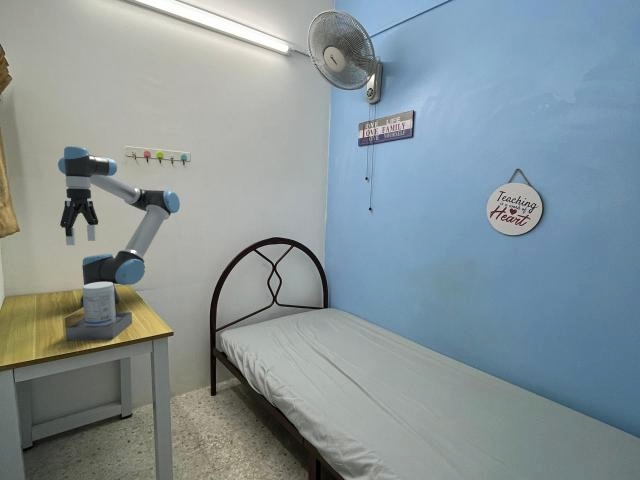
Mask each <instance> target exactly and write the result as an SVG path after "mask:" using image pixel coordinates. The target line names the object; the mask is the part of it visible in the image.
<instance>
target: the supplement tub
mask: <svg viewBox="0 0 640 480" xmlns="http://www.w3.org/2000/svg"><path fill="white" fill-rule="evenodd" d="M114 286H115V285H114ZM114 286H113V283H112V282H95V283H90V284H87V285H84V284H83V286H82V294H83V304H84V317H85V325H86V326H88V327H89V326H106V325H109V324H111V323H113V322H114V321H115V320H116V313H117V312H116V304H115V296H114Z"/></svg>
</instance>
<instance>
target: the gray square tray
mask: <svg viewBox="0 0 640 480" xmlns="http://www.w3.org/2000/svg"><path fill="white" fill-rule="evenodd" d="M115 313H116V320H115V321H114V322H113V323H111V324H109V325H106V326H89V327H88V326H86V325H85V317H84V307H83V308H82V307H80V308H79V309H77V310H75V311H74V312H72V313H70V314H68V315H66V316H64V317H63V318H62V331H63V332H62V334H63V341H65V342H67V341H92V340H93V341H97V340H98V341H99V340H114V339H115V338H116V337H118V336H119V335H120V334H122V332H124V331H125V330H127V328H128V327H129V326H131V325H132V324H133V313H132V312H131V311H130V312H129V311H128V312H115Z"/></svg>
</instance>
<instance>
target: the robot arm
mask: <svg viewBox="0 0 640 480" xmlns="http://www.w3.org/2000/svg"><path fill="white" fill-rule="evenodd" d="M57 167H58V171H60V172H61V173H62V174H64V175H65V180H64V181H65V186H66V187H67V188H66V198H67V199H70V200H65V201H64V208H63V211H62V214H61V220H60V225H59V226H60V227H61V229H62V228H64V229H65V232H64V233H65V243H66V246H76V232H75V231H76V229H75V227H74V225H75V222H76V220H77V218H78V216H79V215H80V214H82V216H83V218H84V219H85V221H86V223H87V225H86V229H87V230H86V232H87V241H89V242H90V241H91V242H96V241H97V235H96V226H98V225H99V219H98V216H97V213H96V211H95V207H94V203H93V200H91V199H92V191H91V186H92V185H93V186H95V187H97V188H99V189H101V190H104V191H106V192H107V193H110V194H111V195H114V196H115V197H118V198H120V199H122V200H123V201H124V203H126V204H127V205H130V206H131V207H134V208H136V209H139V210H141V211H142V212H143V211H144V212H146V213H145V215H144V217H143V218H142V219H141V221H140V223H139V225H138V226H137V227H136V229H135V231H134V233H133V234H132V236H131V237H130V239H129V241H128V243H127V245H126V246H125V248H124V249H122V250H119V251H118V252H117V254H116V255H115V257H114V256H113V254H112V253H105V254H96V255H91V256H86V257H84V258H83V259H82V265H81V267H82V268H81V269H82V278H83V286H84V285H87V284H90V283H95V282H112V283H113V286H114V296H115V305H116V304H118V303H119V302H120V295H119V293H118V291H117V289H116V287H115V285H122V286H126V285H127V286H129V285H130V286H131V285H135V284H137V283H139V282H140V281H141V280H142V278H143V277H144V275H145V273H146V270H145V269H146V265H145V259H144V256H145V255H146V252H148V250H149V247H150V246H151V244H152V242H153V240H154V239H155V237H156V234H158V231H159V229H160V228H161V226H162V225H163V222H164V221H165V220H168V219H169V218H170V216H171V214H175V213H177V212H179V210H180V206H181V205H180V204H181V201H180V198H179V196H178V194H177V193H176V192H175V191H173V190H167V189H165V190H153V189H152V190H151V189H149V190H148V189H147V190H146V189H141V188H139V187H137V186H131V185H130V184H128V183H125V182H124V181H122V180H120V179H118V178H116V177H114V176H115V175H116V173H117V172H118V165H117V163H116V161H115V159H113V158H109V157H107V156H98V155H93V154H90V153H89V149H87V147H86V148H85V147H80V146H65V147H64V149H63V157H61V158H60V159H59V160H58V163H57ZM91 184H92V185H91ZM79 306H80V308H83V307H84V304H83V293H82V295H81V298H80V303H79Z"/></svg>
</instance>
